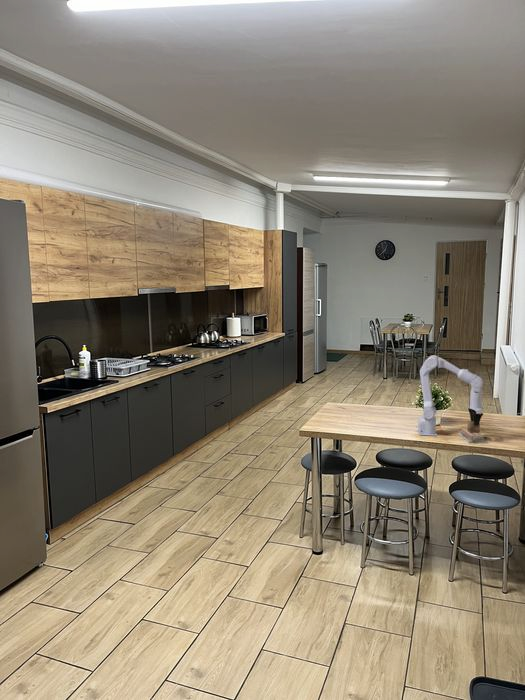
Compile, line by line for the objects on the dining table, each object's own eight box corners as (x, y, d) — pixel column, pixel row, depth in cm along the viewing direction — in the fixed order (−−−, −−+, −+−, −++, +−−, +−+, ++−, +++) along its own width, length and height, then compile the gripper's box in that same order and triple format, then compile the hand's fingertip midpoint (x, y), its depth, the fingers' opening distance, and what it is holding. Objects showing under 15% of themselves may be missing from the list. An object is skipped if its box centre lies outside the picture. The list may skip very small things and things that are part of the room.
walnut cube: (469, 432, 294) (470, 423, 293) (467, 429, 299) (467, 420, 298) (479, 432, 293) (479, 423, 293) (476, 430, 298) (477, 421, 298)
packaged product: (488, 435, 288) (469, 435, 288) (487, 444, 288) (468, 444, 289) (475, 426, 306) (457, 426, 306) (475, 434, 306) (457, 434, 306)
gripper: (487, 402, 286) (485, 427, 288) (480, 396, 300) (479, 420, 302) (473, 401, 287) (471, 426, 289) (467, 395, 301) (465, 419, 303)
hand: (474, 423), depth 296 cm, fingers open, 7 cm apart
